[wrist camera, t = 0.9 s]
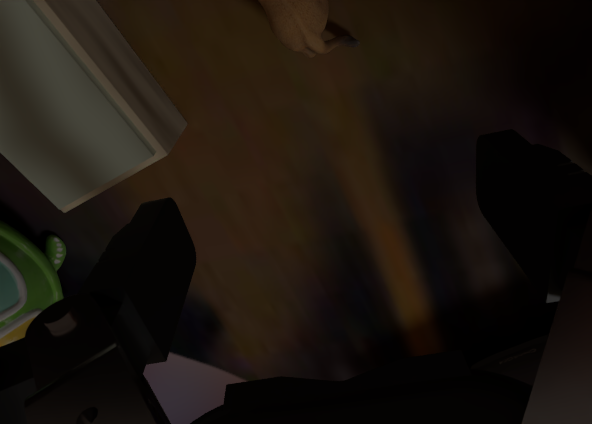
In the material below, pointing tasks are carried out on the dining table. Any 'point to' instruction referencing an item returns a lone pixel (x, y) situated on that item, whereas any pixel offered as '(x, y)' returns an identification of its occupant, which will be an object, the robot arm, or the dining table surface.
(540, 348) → the bluetooth speaker
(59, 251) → the turtle holder
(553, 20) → the dining table surface
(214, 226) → the dining table surface
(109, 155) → the plinth
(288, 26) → the lion figurine
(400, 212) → the dining table surface
